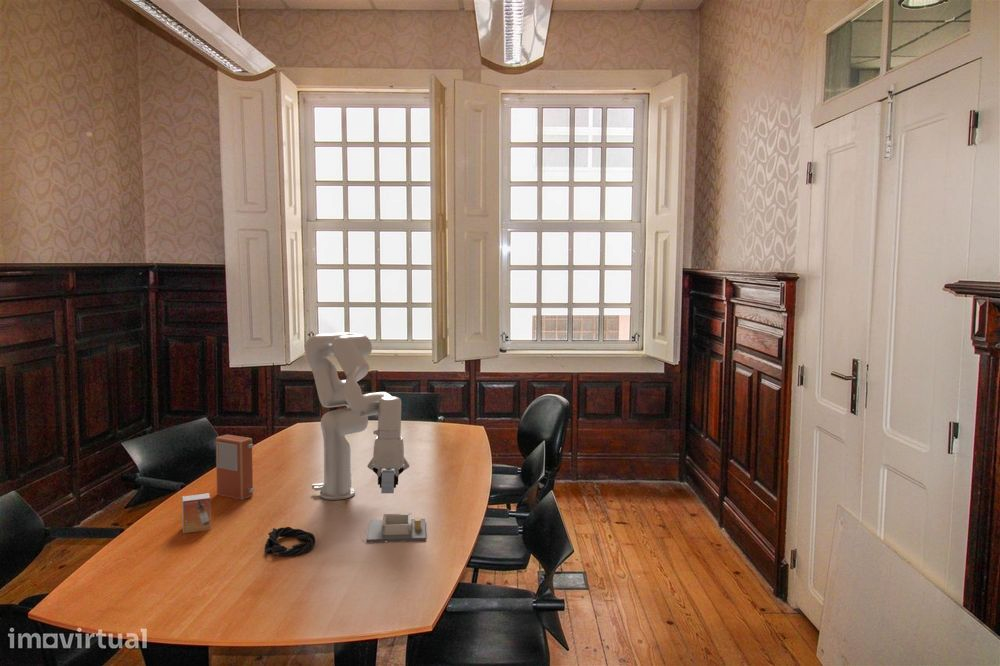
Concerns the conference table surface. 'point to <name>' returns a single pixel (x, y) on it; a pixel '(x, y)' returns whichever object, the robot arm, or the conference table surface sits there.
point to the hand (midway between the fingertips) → (388, 486)
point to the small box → (196, 513)
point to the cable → (295, 549)
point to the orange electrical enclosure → (234, 466)
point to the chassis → (397, 528)
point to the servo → (387, 481)
